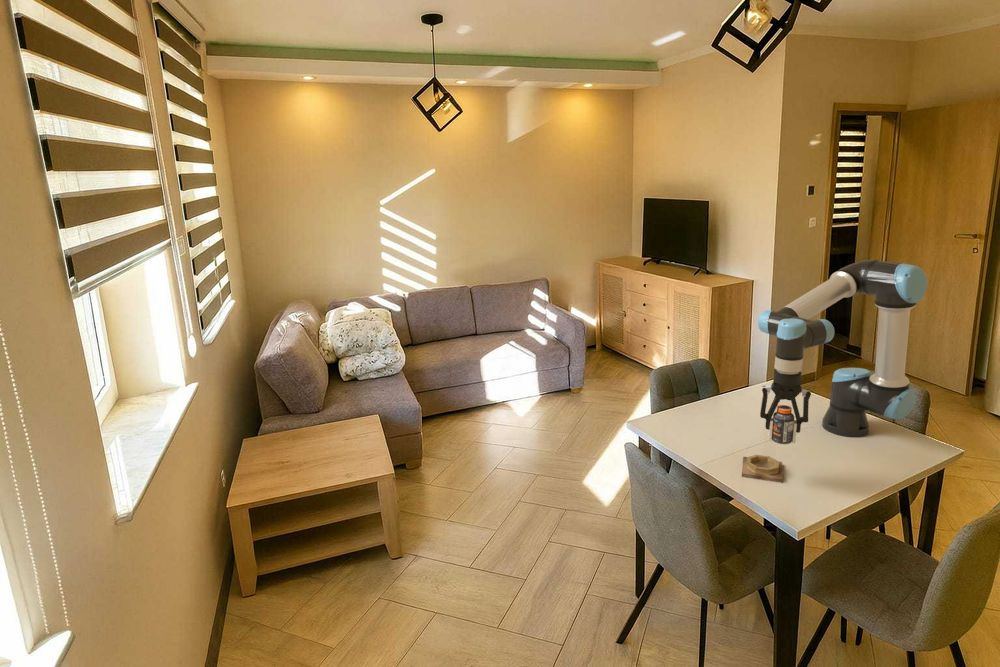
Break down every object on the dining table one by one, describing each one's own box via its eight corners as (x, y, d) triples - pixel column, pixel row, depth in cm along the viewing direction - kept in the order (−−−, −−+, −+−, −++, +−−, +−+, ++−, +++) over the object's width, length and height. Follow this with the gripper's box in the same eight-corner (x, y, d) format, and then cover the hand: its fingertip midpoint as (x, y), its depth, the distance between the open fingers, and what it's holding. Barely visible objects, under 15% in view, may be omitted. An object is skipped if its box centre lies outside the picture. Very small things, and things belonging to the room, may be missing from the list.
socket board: (781, 465, 202) (782, 456, 201) (782, 482, 192) (783, 473, 191) (743, 459, 207) (743, 451, 206) (741, 476, 196) (742, 467, 195)
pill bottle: (767, 437, 192) (770, 404, 188) (785, 435, 192) (788, 402, 189) (777, 445, 186) (780, 411, 183) (796, 443, 186) (799, 410, 183)
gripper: (821, 368, 182) (814, 438, 189) (753, 363, 189) (748, 431, 196) (824, 377, 175) (816, 449, 182) (753, 371, 182) (748, 441, 189)
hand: (781, 439), depth 189 cm, fingers closed on pill bottle, 6 cm apart
